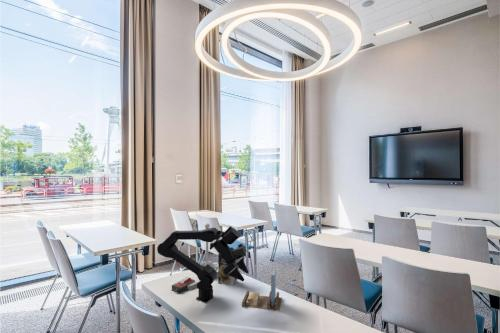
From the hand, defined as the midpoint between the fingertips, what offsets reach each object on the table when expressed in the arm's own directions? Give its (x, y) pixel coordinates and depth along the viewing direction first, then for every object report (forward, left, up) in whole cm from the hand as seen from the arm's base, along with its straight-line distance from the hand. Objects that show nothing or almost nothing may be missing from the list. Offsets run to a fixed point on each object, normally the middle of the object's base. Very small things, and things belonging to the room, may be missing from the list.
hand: (245, 276), depth 128 cm
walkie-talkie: (-36, -2, -13) cm, 38 cm away
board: (+12, +6, -11) cm, 17 cm away
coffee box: (-20, +13, -12) cm, 27 cm away
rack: (+7, +4, -12) cm, 15 cm away
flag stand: (-38, +16, -12) cm, 43 cm away
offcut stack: (+3, +2, -11) cm, 12 cm away
